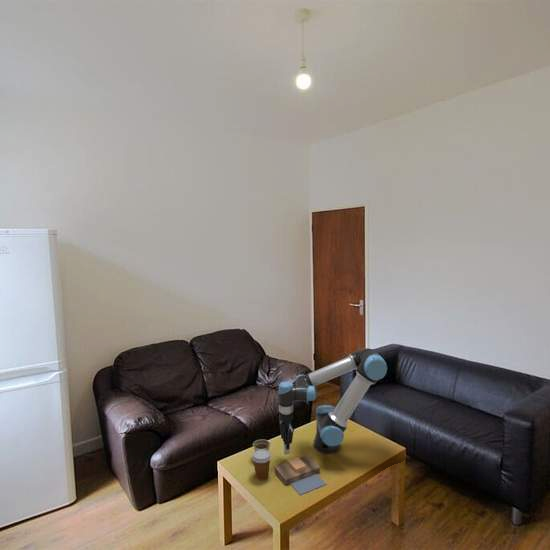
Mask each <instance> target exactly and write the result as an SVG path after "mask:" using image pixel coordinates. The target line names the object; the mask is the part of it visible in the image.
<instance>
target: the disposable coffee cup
mask: <svg viewBox="0 0 550 550" xmlns="http://www.w3.org/2000/svg"><path fill="white" fill-rule="evenodd" d="M251 458H252V461H253V465H254V466H253V467H254V473H255V478H256V480H259V481H266V480H267V479H268V478H269V474H270V473H269V472H270V463H271V458H272V454H271V451H268V450H266V449H259V450H256V451H255V450H254V452H253V453H252V456H251Z"/></svg>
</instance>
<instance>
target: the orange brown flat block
mask: <svg viewBox="0 0 550 550" xmlns="http://www.w3.org/2000/svg"><path fill="white" fill-rule="evenodd" d="M299 458H300V457H298V456H293V457H291V458H288V459H286V462H287V464H288V465H289V466H290V467H291V468H292V469H293V470H294V471H295V472H296V473H298V472H300V471H303V470H306V465H305V464H304V463H303V462H302V461H301V460H300V459H299Z"/></svg>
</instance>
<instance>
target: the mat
mask: <svg viewBox="0 0 550 550" xmlns="http://www.w3.org/2000/svg"><path fill="white" fill-rule="evenodd" d="M289 485H290V486H291V487H292V488H293V490H295V492H296V493H297V494H298V495H299V496H302V495H305V494H307V493H309V492H312V491H314V490H317V489H319V488H321V487H325V486H327V483H326V482H325V481H324V480H323V479H322V478H321V477H320V476H319V474H314V475H311V476H309V477H306V478H303V479H301V480H298V481H296V482H293V483H290V484H289Z"/></svg>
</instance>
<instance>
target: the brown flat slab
mask: <svg viewBox="0 0 550 550" xmlns="http://www.w3.org/2000/svg"><path fill="white" fill-rule="evenodd" d="M298 458H299V459H300V460H301V461H302V462H303V463H304V464H305V465H306V470H303V471H300V472H298V473H296V472H295V471H294V470H293V469H292V468H291V467H290V466H289V465H288V464H287V461H286V462H283V463H281V464H278V465H275V466H274V469H273V470H274V473H275V474H276V476H277V477H278V478H279V479H280V480H281V481H282V482H281V483H283V484H284V486H289V485H291V484H290V483H293V482H296V481H298V480H301V479H303V478H306V477H309V476H311V475H314V474H317V475H319V474H321V467H320V466H319V465H318V463H316V462H315V461H314V460H313V459H312V458H311V457H310V456H309V455H308V454H306V455H304V456H303V455H302V456H301V457H298Z"/></svg>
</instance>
